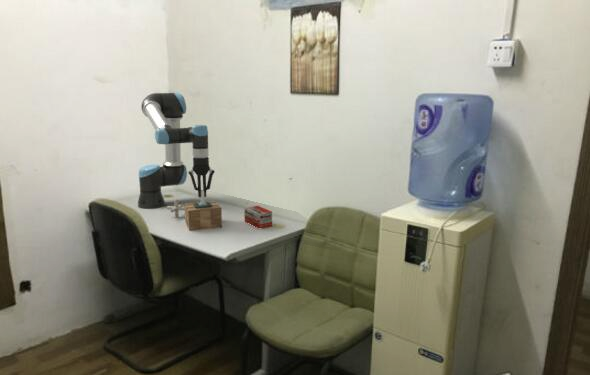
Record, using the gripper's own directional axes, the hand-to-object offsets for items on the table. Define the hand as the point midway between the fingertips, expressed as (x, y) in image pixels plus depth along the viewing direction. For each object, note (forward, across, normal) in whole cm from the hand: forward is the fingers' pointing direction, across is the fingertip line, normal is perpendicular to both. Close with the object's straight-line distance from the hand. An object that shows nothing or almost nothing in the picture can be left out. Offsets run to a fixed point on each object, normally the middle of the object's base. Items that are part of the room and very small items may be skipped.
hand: (202, 203), depth 227 cm
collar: (+1, 0, 0) cm, 1 cm away
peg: (+8, 0, 0) cm, 8 cm away
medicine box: (+12, +27, -8) cm, 30 cm away
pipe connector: (+12, -11, +18) cm, 24 cm away
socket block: (+11, 0, 0) cm, 11 cm away
